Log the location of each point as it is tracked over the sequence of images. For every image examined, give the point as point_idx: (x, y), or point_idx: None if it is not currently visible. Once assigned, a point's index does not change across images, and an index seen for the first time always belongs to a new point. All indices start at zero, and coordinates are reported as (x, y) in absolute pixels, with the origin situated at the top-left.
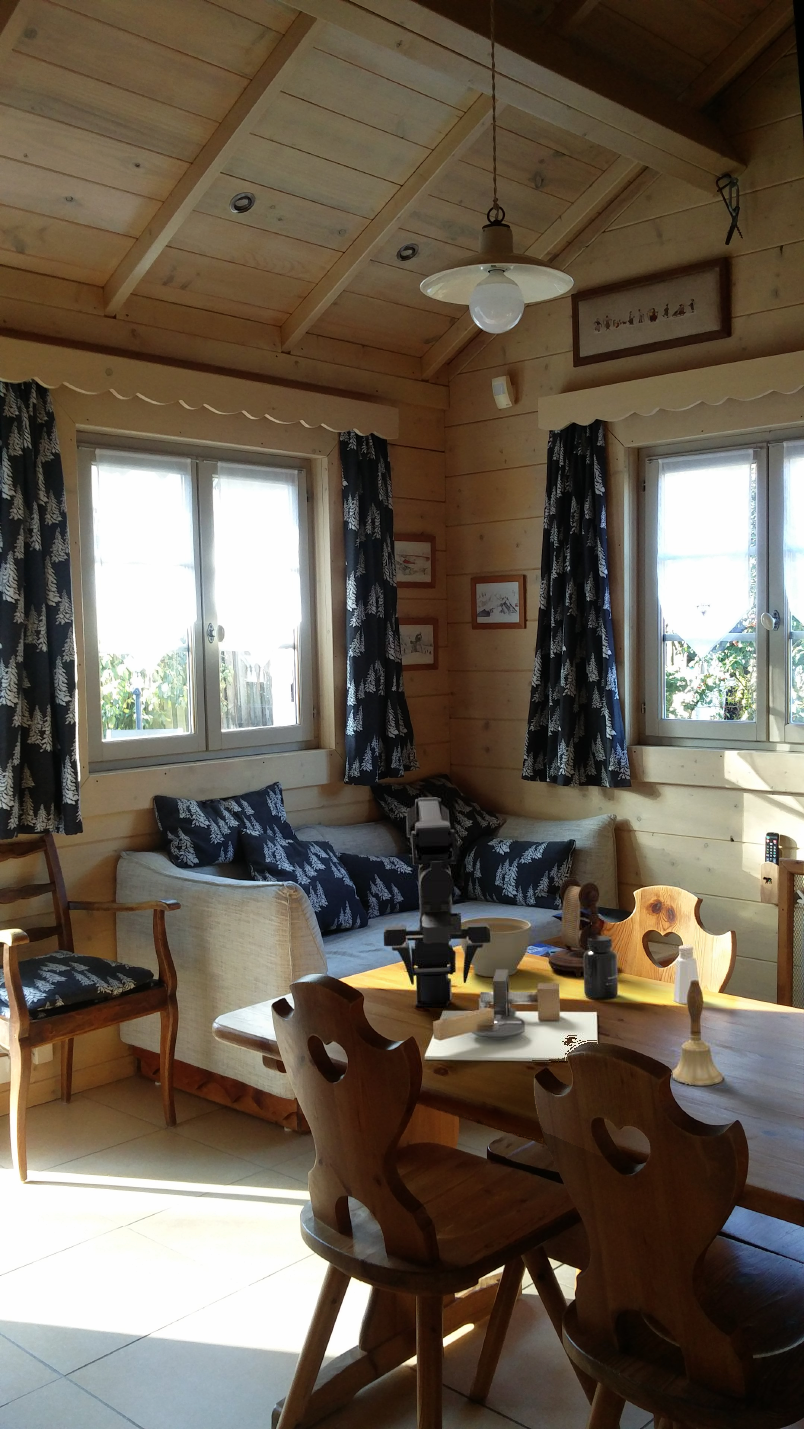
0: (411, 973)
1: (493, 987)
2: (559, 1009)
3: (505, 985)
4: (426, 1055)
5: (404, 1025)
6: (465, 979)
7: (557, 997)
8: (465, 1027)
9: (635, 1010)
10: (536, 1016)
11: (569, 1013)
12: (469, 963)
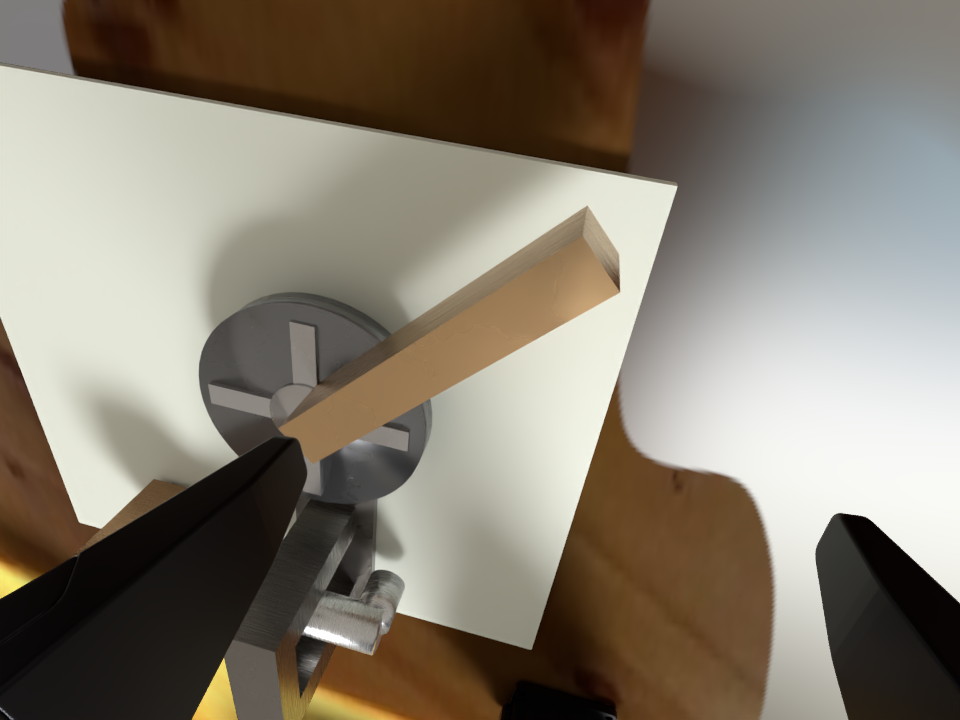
0: (939, 628)
1: (288, 623)
2: None
3: None
4: (666, 193)
5: (686, 590)
6: (259, 450)
7: (94, 539)
8: (431, 314)
9: (6, 523)
10: None
11: None
12: (69, 573)
